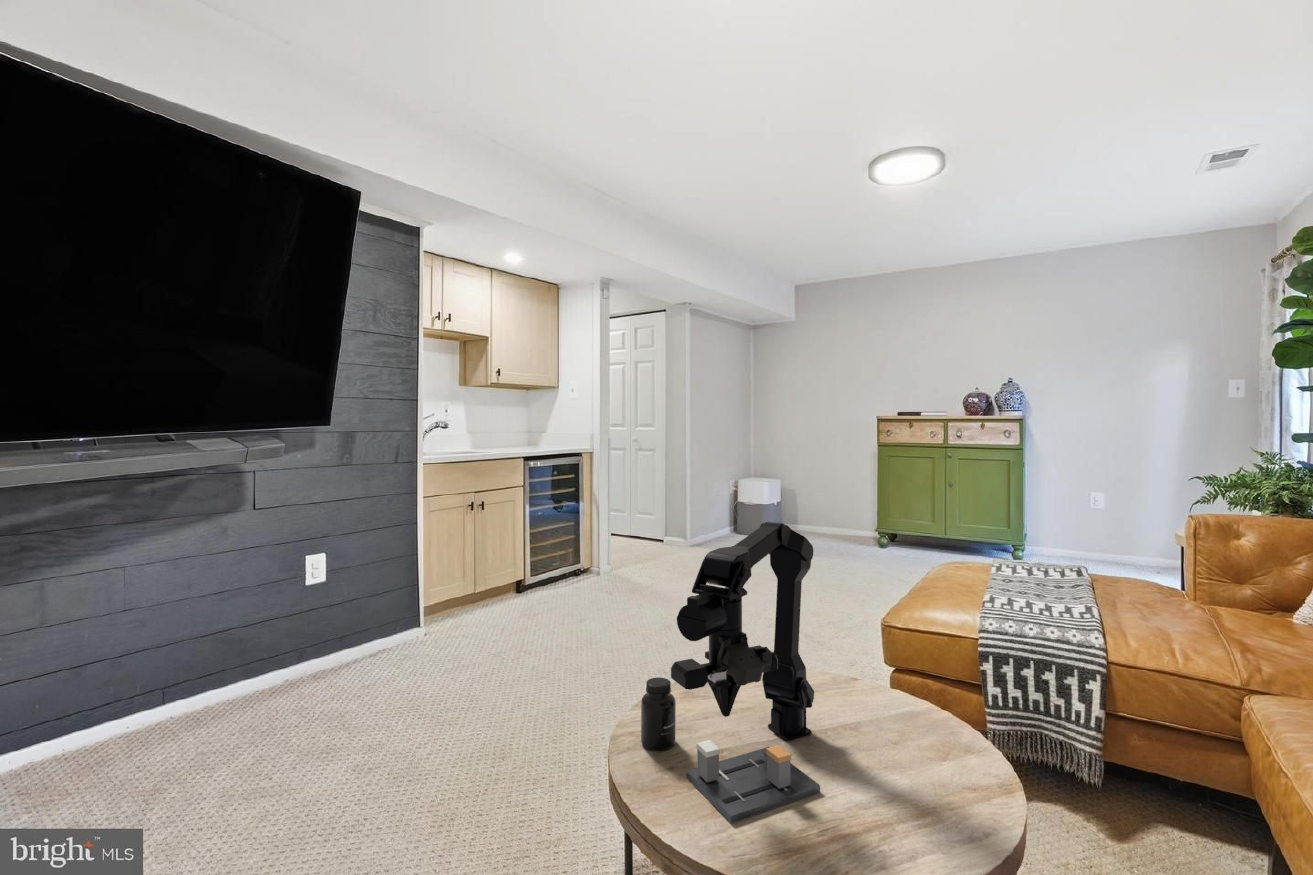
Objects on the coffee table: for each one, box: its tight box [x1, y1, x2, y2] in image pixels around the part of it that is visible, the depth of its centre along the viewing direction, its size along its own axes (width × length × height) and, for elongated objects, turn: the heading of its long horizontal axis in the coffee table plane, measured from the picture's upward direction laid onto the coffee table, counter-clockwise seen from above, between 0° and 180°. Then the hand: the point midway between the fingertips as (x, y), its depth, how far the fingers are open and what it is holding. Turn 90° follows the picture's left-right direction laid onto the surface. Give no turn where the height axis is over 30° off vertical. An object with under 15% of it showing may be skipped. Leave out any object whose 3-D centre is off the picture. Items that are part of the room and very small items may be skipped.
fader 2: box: [765, 744, 792, 789], centre depth 101 cm, size 3×3×5 cm
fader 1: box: [696, 739, 720, 782], centre depth 103 cm, size 3×3×5 cm
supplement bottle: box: [640, 677, 677, 751], centre depth 117 cm, size 7×7×12 cm
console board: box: [686, 746, 821, 825], centre depth 102 cm, size 18×14×1 cm
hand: (725, 715), depth 102 cm, fingers closed
